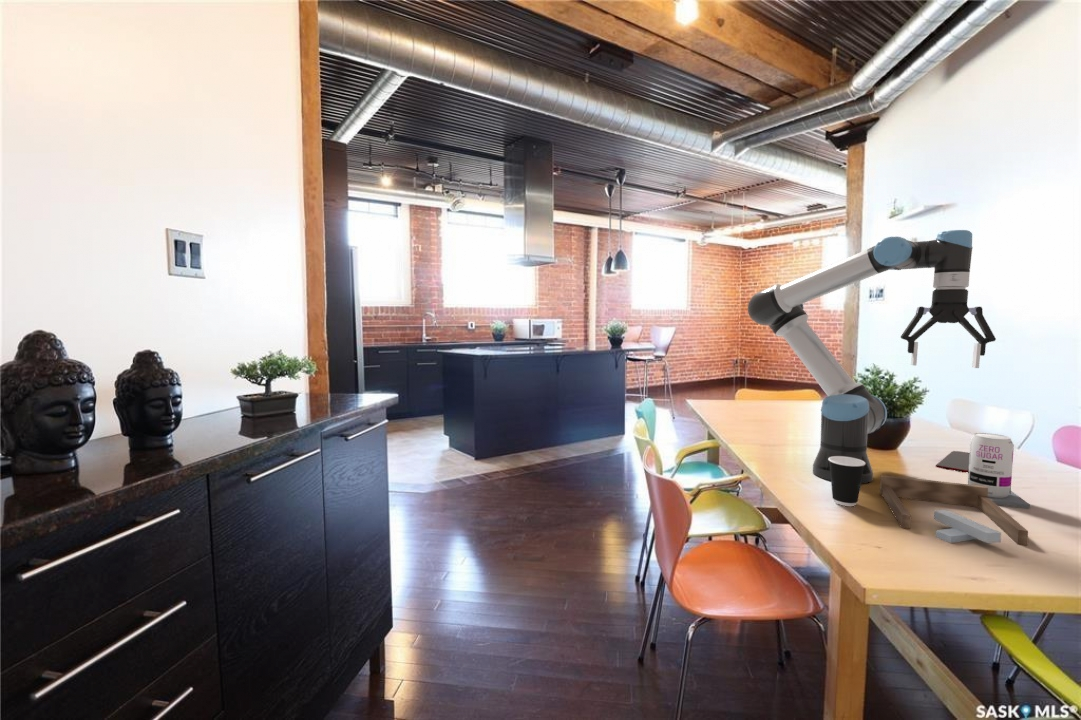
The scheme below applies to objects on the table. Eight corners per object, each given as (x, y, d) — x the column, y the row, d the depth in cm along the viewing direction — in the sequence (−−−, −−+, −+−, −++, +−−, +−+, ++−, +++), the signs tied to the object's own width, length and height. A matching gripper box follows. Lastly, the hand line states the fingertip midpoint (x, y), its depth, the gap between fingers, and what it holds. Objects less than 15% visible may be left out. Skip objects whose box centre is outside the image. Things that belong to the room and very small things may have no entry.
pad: (966, 501, 125) (967, 497, 125) (951, 486, 136) (951, 483, 136) (1029, 508, 120) (1030, 504, 120) (1008, 492, 131) (1009, 489, 131)
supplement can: (999, 489, 131) (1003, 433, 129) (1017, 500, 123) (1021, 440, 122) (961, 486, 133) (964, 431, 132) (976, 496, 125) (980, 438, 124)
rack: (900, 527, 110) (901, 505, 109) (879, 493, 131) (880, 475, 131) (1028, 545, 101) (1030, 521, 100) (984, 505, 122) (985, 486, 122)
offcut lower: (950, 545, 102) (950, 536, 102) (935, 539, 105) (935, 530, 105) (993, 539, 105) (994, 530, 105) (977, 533, 108) (978, 524, 108)
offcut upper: (1000, 542, 99) (1001, 532, 99) (986, 542, 99) (987, 533, 99) (945, 518, 111) (946, 509, 111) (933, 519, 111) (934, 510, 111)
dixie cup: (871, 508, 121) (873, 464, 120) (839, 509, 120) (841, 465, 120) (849, 497, 129) (851, 455, 128) (819, 498, 128) (821, 456, 127)
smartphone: (934, 464, 154) (952, 449, 170) (933, 469, 154) (951, 454, 170) (986, 473, 145) (1000, 457, 161) (986, 479, 145) (1000, 461, 161)
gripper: (897, 288, 137) (891, 365, 139) (1016, 287, 126) (1008, 370, 128) (892, 290, 144) (887, 362, 146) (1005, 288, 133) (997, 367, 135)
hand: (943, 366), depth 137 cm, fingers open, 13 cm apart
